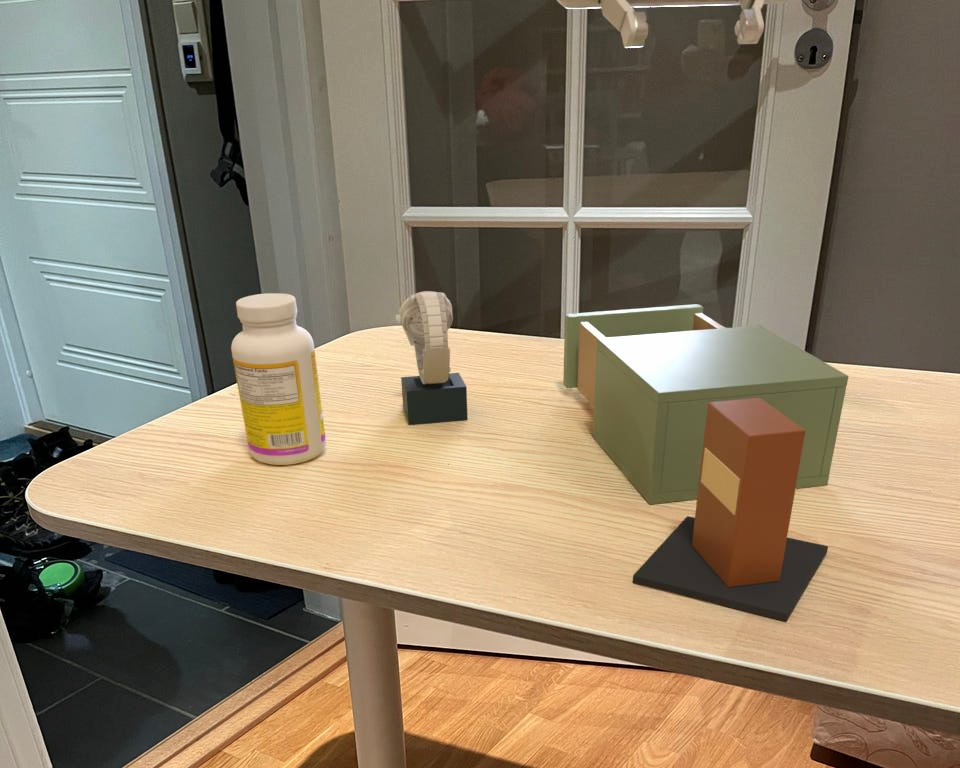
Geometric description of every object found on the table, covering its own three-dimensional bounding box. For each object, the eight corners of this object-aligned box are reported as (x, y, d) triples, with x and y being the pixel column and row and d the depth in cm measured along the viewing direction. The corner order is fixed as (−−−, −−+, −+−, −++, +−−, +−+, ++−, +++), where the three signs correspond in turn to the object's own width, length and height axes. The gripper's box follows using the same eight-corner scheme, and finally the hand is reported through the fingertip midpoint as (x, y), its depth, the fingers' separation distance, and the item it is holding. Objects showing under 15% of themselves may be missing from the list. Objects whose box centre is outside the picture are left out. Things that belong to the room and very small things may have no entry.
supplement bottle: (288, 433, 85) (267, 286, 78) (342, 448, 82) (326, 295, 75) (233, 457, 80) (205, 303, 73) (288, 473, 77) (264, 314, 70)
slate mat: (827, 553, 63) (828, 545, 63) (786, 622, 56) (788, 613, 56) (686, 523, 68) (687, 515, 68) (632, 583, 61) (632, 575, 60)
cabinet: (592, 436, 83) (596, 338, 78) (746, 421, 85) (760, 325, 80) (649, 504, 71) (658, 393, 66) (827, 485, 73) (849, 375, 68)
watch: (456, 398, 92) (452, 281, 86) (470, 426, 85) (467, 301, 79) (400, 402, 91) (391, 285, 85) (410, 431, 85) (401, 306, 79)
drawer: (551, 372, 95) (553, 303, 92) (676, 361, 97) (682, 293, 94) (605, 432, 81) (609, 353, 77) (749, 418, 83) (760, 341, 79)
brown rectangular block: (690, 545, 64) (706, 402, 58) (740, 539, 64) (760, 397, 59) (727, 588, 59) (748, 436, 53) (780, 581, 59) (807, 430, 54)
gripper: (542, -147, 71) (574, 6, 68) (794, -146, 74) (834, 0, 71) (528, -67, 77) (557, 76, 74) (761, -70, 80) (796, 67, 77)
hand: (694, 39), depth 72 cm, fingers open, 8 cm apart
